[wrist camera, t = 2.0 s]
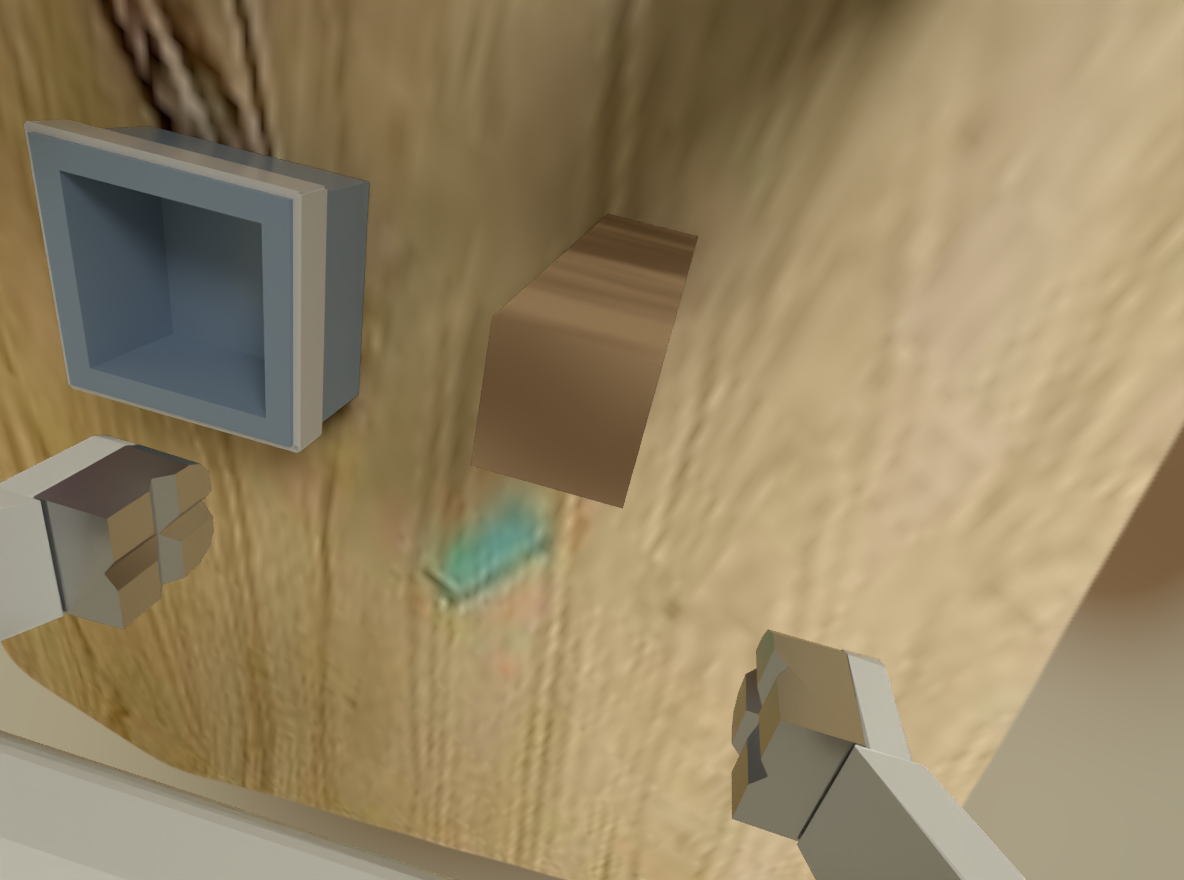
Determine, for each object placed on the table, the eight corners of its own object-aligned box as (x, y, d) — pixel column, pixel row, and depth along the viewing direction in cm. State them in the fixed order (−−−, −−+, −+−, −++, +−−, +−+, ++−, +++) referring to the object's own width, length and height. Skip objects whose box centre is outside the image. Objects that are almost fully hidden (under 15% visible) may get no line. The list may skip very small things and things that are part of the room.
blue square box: (143, 116, 28) (17, 120, 23) (376, 176, 27) (298, 192, 22) (165, 345, 32) (64, 389, 27) (364, 401, 32) (297, 456, 27)
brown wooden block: (607, 214, 26) (492, 316, 14) (697, 236, 26) (663, 362, 13) (589, 302, 28) (470, 465, 15) (673, 324, 27) (622, 508, 15)
